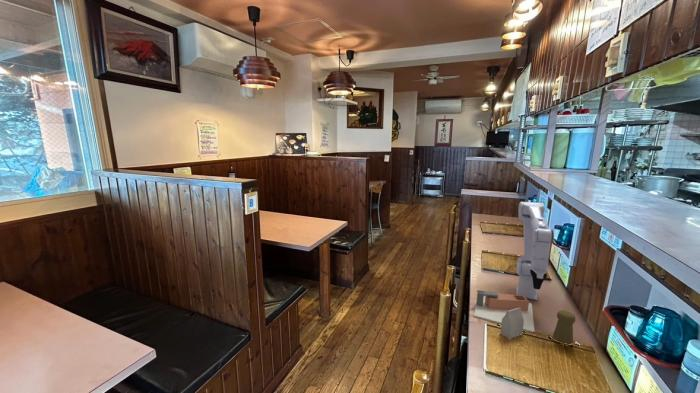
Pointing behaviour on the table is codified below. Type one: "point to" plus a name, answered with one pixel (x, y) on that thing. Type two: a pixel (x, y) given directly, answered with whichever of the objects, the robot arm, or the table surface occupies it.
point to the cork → (564, 327)
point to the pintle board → (499, 311)
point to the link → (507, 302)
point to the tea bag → (512, 323)
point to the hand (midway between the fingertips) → (536, 288)
